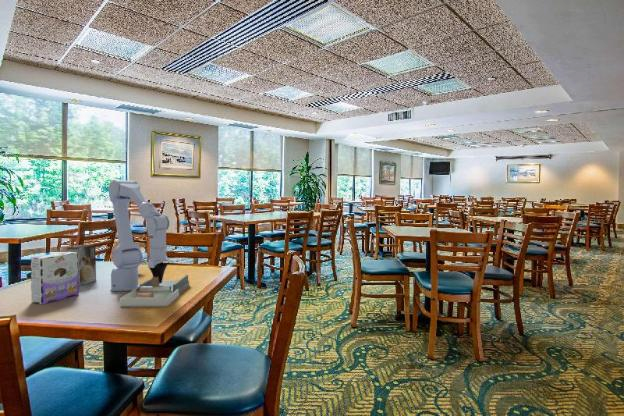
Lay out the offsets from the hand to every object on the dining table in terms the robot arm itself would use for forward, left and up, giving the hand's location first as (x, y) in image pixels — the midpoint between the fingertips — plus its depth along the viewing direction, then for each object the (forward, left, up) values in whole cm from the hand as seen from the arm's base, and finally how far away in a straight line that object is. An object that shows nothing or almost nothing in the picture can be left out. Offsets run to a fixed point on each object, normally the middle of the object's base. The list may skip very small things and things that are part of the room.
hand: (158, 283), depth 143 cm
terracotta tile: (-3, -5, -4) cm, 7 cm away
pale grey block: (0, -3, -2) cm, 3 cm away
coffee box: (-40, +21, -5) cm, 45 cm away
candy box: (-36, -3, -5) cm, 36 cm away
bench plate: (0, +8, -5) cm, 9 cm away
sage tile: (+3, -5, -4) cm, 7 cm away
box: (0, -7, -5) cm, 9 cm away
